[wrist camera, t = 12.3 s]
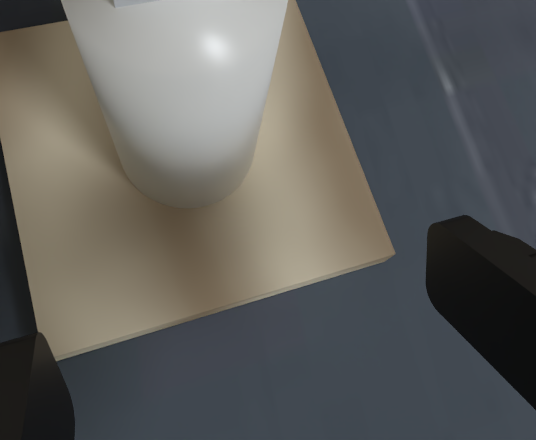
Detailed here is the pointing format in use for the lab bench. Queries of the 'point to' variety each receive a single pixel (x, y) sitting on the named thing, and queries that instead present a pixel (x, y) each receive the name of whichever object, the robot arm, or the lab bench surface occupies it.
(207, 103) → the white bottle
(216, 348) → the lab bench surface
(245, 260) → the board
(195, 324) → the lab bench surface
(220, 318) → the lab bench surface
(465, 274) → the robot arm
